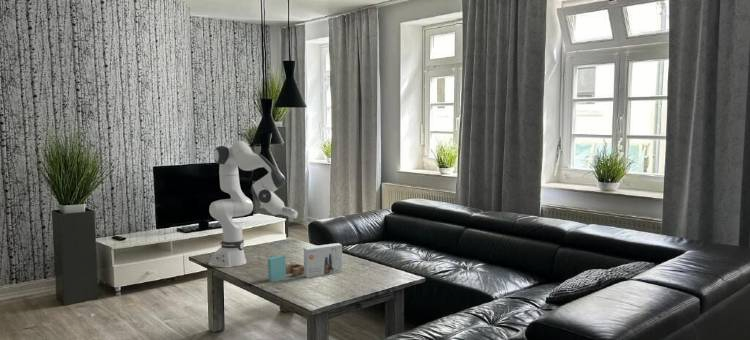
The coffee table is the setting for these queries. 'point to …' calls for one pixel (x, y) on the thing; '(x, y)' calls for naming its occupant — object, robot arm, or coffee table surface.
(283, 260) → the teal rectangular block
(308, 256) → the skincare box
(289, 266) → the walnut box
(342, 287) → the coffee table surface
